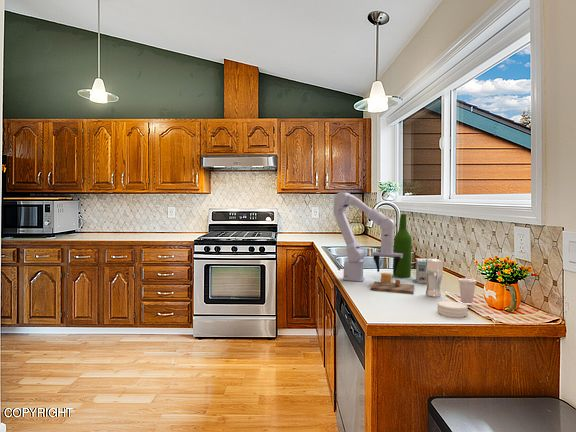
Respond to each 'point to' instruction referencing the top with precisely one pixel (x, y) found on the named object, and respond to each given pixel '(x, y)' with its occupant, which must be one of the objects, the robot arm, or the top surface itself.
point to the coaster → (452, 309)
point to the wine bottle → (403, 250)
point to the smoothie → (467, 289)
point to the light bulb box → (420, 270)
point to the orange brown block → (386, 277)
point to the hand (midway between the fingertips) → (386, 272)
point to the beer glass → (433, 276)
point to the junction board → (393, 287)
